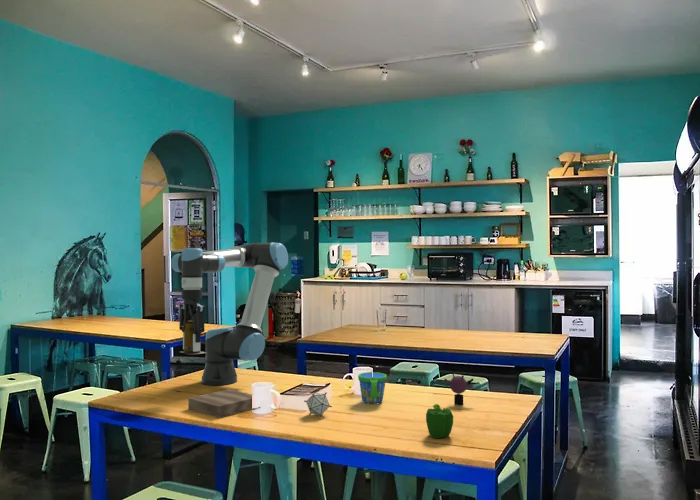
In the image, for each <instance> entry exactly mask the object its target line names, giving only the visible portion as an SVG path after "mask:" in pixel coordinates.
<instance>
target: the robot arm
mask: <svg viewBox="0 0 700 500" xmlns="http://www.w3.org/2000/svg"><path fill="white" fill-rule="evenodd" d="M287 250H288V249H287V248H286V246H285V245H284V244H283V243H280V242H273V241H272V242H253V243H252V242H251V243H247V244H242V245H237V246H232V247H231V248H230V249H227V248H226V249H217V250H211V251H210V250H208V251H203V249H202V248H201V247H200V248H199V247H197V248H196V247H194V248H193V247H186V248H183V249H182V251H181V253H177V254H174V255H173V256H172V257H171V259H170V263H171V265H170V266H171V268H172V270H173V271H174V272H176V273H177V272H178V273H181V281H180V282H181V288H182V289H181V299H182V300H183V301H184V302H183V303H181V304H180V303H179V331H181V332H182V340H183V341H182V350H183V351H184V329H185V327H186V326H185V322H186V321H188V320H192V321H193V327H194V333H193V352H195V351H201V347H200V341H201V342H202V340H201V339H202V338H201V336H202V335H201V334H203V333H204V332H205V305H201V302H200V300H202V299H203V290H202V289H201V288H203V274H204V273H205V274H206V273H207V274H208V273H209V274H210V273H212V274H216V273H220V272H222V271H223V270H224V269H225V268H228V267H234V268H247V269H248V268H249V269H250V268H251V269H253V270H254V272H255V274H254V277H253V281H252V283H251V288H250V290H249V294H248V297H247V299H246V304H245V308H244V310H243V314H242V318H241V320H240V322H239V323H238V324H236V326H235V329H234V328H233V327H229V326H228V327H220V328H215V329H214V328H213V329H209V330H207V331H206V333H205V340H204V341H205V342H204V343H205V352H206V353H205V366H204V369H203V373H202V376H201V384H203V385H206V386H207V385H208V386H225V385H231V384H234V383H237V382H238V374H237V371H236V369H235V364H234V360H238V361H239V360H240V361H244V362H248V361H249V362H251V361H256V360H257V359H259V358H260V357H261V356H262V354H263V352H264V350H265V347H266V342H265V337H264V335H263V330H262V328H261V327H262V322H263V320H264V316H265V312H266V308H267V305H268V302H269V299H270V298H269V297H270V294H271V291H272V286H273V283H274V281H275V278H277V277H278V276H279V275H280V273H281V270H283V269H285V268H286V267H287V266H288V263H289V253H288V251H287Z"/></svg>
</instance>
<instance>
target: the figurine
mask: <svg viewBox="0 0 700 500" xmlns="http://www.w3.org/2000/svg"><path fill="white" fill-rule="evenodd" d="M460 374H461V375H457V376H456V375H455V373H454V371H452V372H451V375H452V378H451V380H450V379H447V378H444V379H443V380H444V382H445V383H448V384H449V387H450V390H451V391H452V392H453V393H455V394H454V399H453V401H454V402H453V404H454V405H455V406H464V395H463V393H464V392H466V390H467V389H468V387H469V388H471V389H472V388H473V386H474V385H472V382H473V381H474V379H473V378H471V379H469V380H466V378H465V377H464V374H465V373H464V371H461V372H460Z"/></svg>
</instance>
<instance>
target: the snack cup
mask: <svg viewBox="0 0 700 500" xmlns="http://www.w3.org/2000/svg"><path fill="white" fill-rule="evenodd" d="M357 379H358V381H359V386H360V394H361V401H362V402H363V403H364V404H367V403H369V404H368V405H376V404H377V403H379V404H382V403H383V401H384V394H385V389H386V388H385V387H386V381H387V374H386V373H382V372H377V371H375V372H373V377H372V372H371V371H369V372H368V371H367V372H362V373H359V374H358V378H357ZM381 402H382V403H381ZM377 405H378V404H377Z"/></svg>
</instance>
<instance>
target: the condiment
mask: <svg viewBox="0 0 700 500" xmlns="http://www.w3.org/2000/svg"><path fill="white" fill-rule="evenodd" d="M185 326H186V327H185V329H184V350H183V351H182V350H181V351H180V353H181V354H185V355H200V354H206V351H201V350H200V351H195V352H193V333H194V327H193V321H192V319H191V320H188V321H186V322H185ZM201 343H202V340H201V341H200V348H202V347H201Z"/></svg>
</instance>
